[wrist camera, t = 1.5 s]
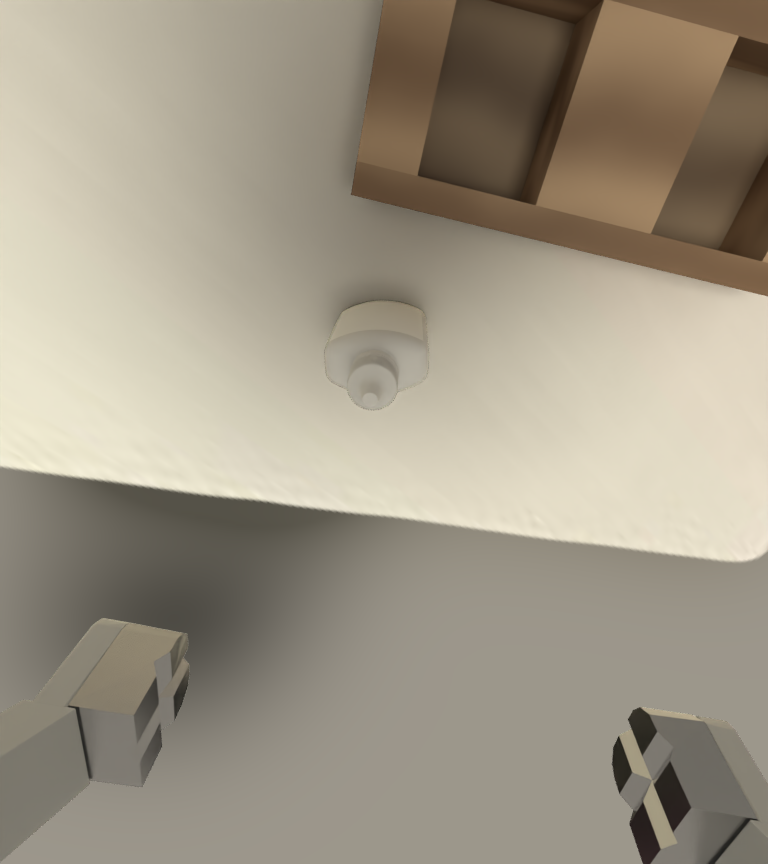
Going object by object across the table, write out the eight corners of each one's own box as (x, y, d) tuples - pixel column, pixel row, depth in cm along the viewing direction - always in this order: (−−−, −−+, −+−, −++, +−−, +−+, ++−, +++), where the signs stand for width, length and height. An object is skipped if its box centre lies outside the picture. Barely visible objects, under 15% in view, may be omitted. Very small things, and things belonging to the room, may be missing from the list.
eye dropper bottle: (359, 274, 31) (333, 327, 20) (436, 316, 32) (450, 388, 21) (330, 333, 33) (293, 411, 22) (404, 372, 34) (401, 462, 23)
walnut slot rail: (403, -58, 24) (402, -111, 19) (860, 69, 25) (957, 47, 21) (360, 191, 29) (351, 194, 24) (741, 284, 30) (798, 303, 26)
